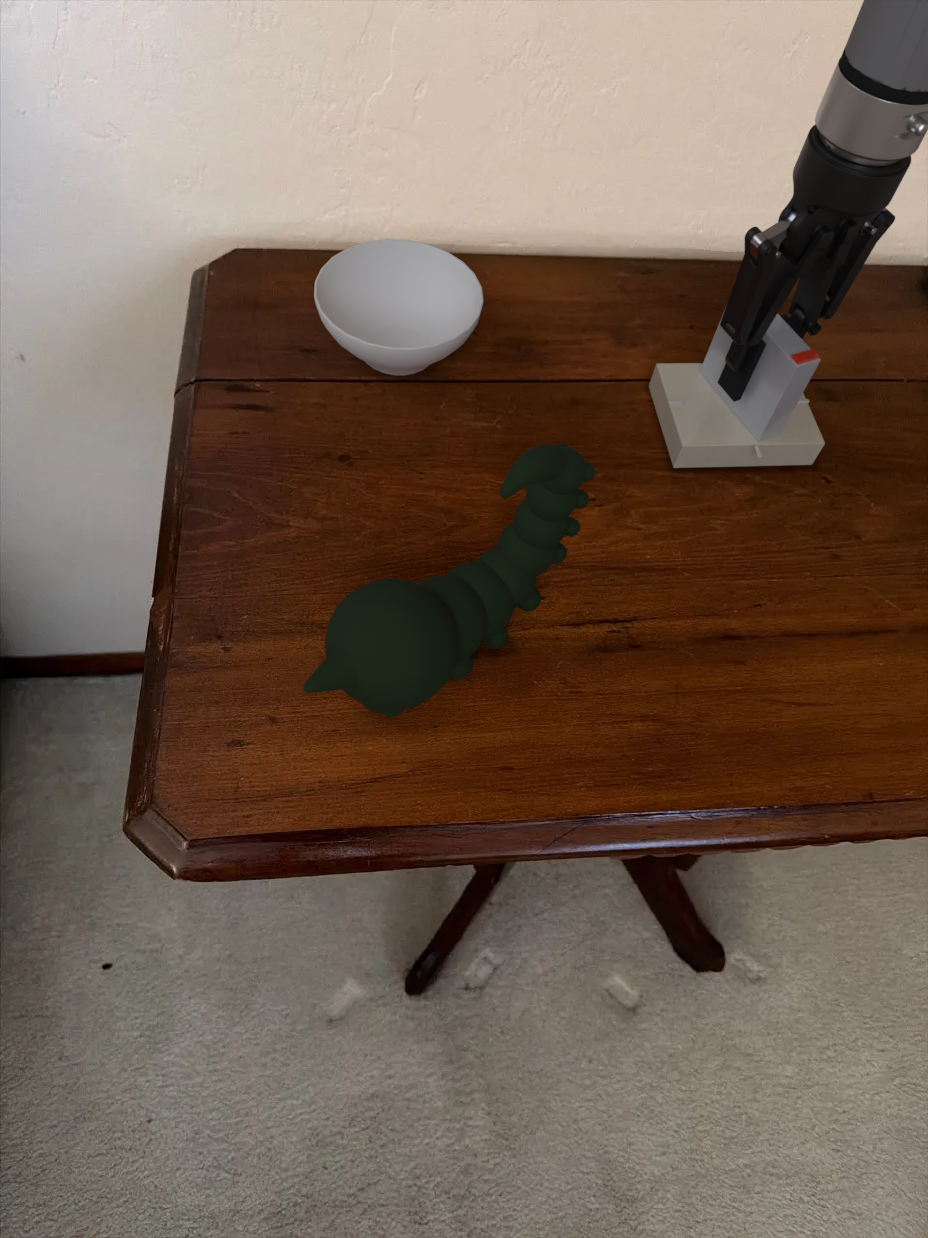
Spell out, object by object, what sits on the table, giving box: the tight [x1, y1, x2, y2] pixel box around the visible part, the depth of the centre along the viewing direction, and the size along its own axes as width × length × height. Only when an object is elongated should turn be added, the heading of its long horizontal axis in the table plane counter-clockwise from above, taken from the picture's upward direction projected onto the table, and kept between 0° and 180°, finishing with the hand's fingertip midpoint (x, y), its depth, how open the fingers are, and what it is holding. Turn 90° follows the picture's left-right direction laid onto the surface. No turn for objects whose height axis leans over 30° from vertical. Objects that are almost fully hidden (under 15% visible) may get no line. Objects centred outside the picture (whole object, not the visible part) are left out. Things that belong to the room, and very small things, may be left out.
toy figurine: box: [302, 442, 596, 719], centre depth 63 cm, size 9×19×25 cm
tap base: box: [648, 362, 826, 469], centre depth 86 cm, size 14×14×3 cm
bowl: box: [313, 238, 484, 376], centre depth 86 cm, size 16×16×7 cm
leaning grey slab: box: [700, 304, 822, 441], centre depth 81 cm, size 10×3×9 cm, turn 25°
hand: (746, 385), depth 83 cm, fingers open, 3 cm apart
